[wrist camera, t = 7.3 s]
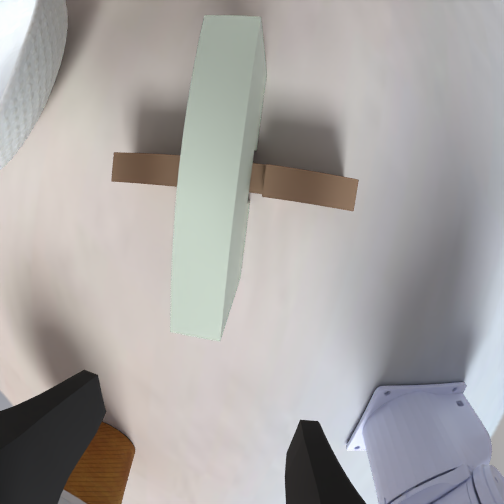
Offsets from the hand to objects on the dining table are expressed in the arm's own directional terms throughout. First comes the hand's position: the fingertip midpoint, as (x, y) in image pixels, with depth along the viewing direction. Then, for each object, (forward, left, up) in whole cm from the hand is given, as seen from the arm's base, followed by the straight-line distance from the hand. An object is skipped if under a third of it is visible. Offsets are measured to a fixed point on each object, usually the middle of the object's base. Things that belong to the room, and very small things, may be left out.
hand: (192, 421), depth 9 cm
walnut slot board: (+1, -8, -10) cm, 12 cm away
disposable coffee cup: (+12, +19, -10) cm, 25 cm away
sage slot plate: (+1, -8, -10) cm, 13 cm away
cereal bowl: (+20, -15, -10) cm, 26 cm away
